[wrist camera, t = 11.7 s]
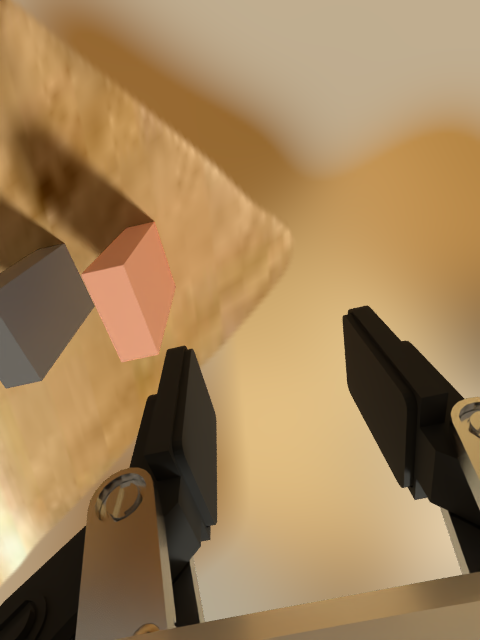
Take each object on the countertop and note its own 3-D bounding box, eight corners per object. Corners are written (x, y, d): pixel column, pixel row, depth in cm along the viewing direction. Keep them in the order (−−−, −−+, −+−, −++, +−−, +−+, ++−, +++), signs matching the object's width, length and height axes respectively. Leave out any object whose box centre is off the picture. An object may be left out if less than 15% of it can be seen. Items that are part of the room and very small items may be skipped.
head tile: (126, 227, 23) (80, 274, 15) (154, 221, 23) (123, 265, 15) (150, 292, 25) (121, 362, 18) (175, 287, 25) (158, 354, 17)
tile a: (37, 249, 23) (-53, 307, 15) (64, 243, 23) (-12, 297, 15) (69, 311, 26) (6, 388, 18) (94, 306, 26) (41, 380, 18)
